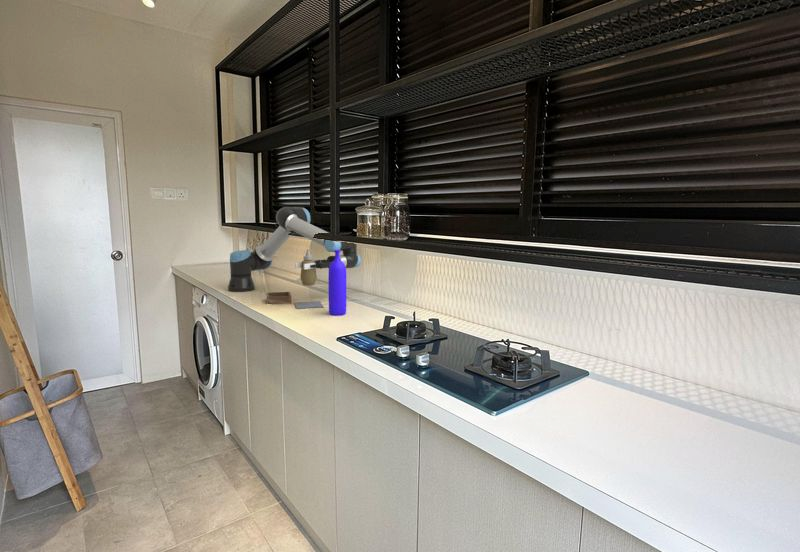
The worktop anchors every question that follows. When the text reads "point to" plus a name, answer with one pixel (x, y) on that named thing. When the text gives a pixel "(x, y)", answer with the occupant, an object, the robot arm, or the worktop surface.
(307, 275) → the squeeze bottle
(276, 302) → the holder
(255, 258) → the robot arm
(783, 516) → the worktop surface
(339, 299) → the bottle
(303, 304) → the mat
